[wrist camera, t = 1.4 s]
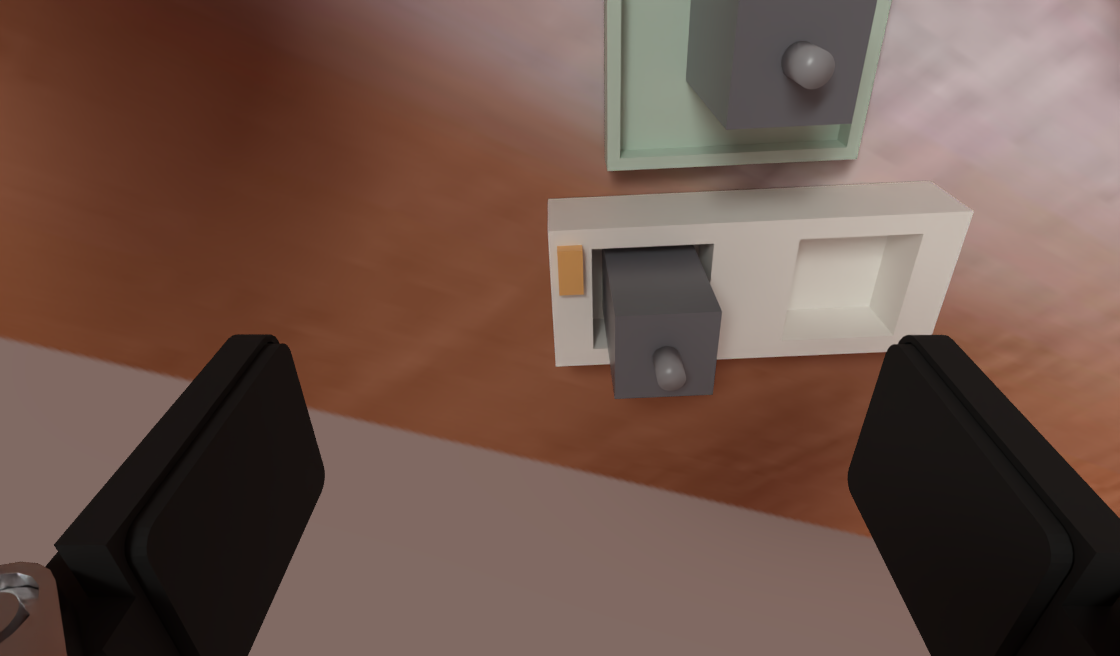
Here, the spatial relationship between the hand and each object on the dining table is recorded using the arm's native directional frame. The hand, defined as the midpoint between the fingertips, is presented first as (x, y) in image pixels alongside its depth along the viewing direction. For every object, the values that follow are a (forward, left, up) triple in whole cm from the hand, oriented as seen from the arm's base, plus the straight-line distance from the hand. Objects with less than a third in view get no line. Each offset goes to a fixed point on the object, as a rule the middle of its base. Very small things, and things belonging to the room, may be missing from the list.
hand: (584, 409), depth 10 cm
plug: (-2, +8, -23) cm, 24 cm away
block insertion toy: (+10, +9, -24) cm, 27 cm away
